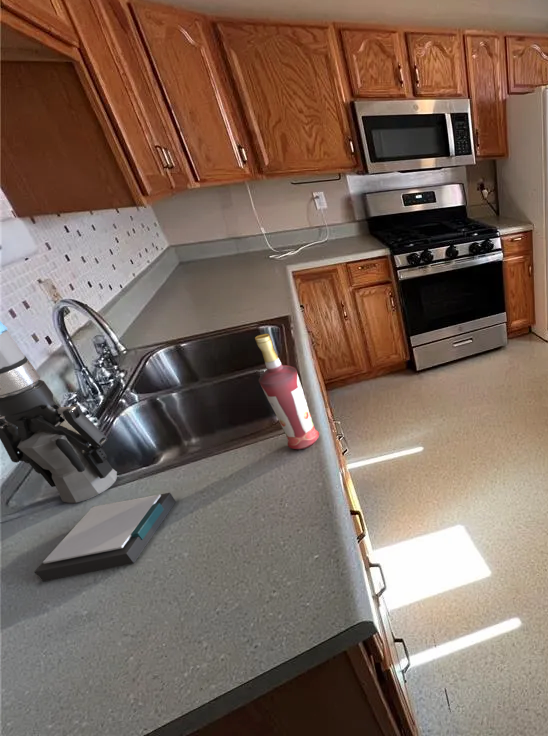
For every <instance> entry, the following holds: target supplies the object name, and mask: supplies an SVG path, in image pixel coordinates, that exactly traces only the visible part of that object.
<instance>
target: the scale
mask: <svg viewBox="0 0 548 736" xmlns="http://www.w3.org/2000/svg"><path fill="white" fill-rule="evenodd" d="M176 502H177V501H176V499H175V498H174V496H173V494H172V493H171V492H165V493H160V494H155V495H149V496H144V497H138V498H133V499H128V500H121V501H115V502H110V503H106V504H105V503H104V504H100V505H96V506H94V505H93V506H92V507H90V509H89V510H88V511H87V512H86V513H85V514H84V516H83V517H82V518H81V519H80V520H79V521H78V522H77V523H76V525H75V526H74V527H72V529H71V530H70V531H69V532H68V533H67V534H66V535H65V537H64V538H62V540H61V541H60V542H59V543H58V544H57V546H55V548H54V549H53V550H52V551H51V552H50V553H49V554H48V555H47V557H45V558H44V560H43V561H42V562H41V564H40V565H39V566H38V567H37V568H36V569H35V570H34V571H33V572H34V574H35V575H36V576H37V577H38V578H39V579H40V580H41V581H42V582H48V581H52V580H58V579H63V578H68V577H72V576H79V575H82V574H88V573H93V572H97V571H102V570H107V569H113V568H118V567H122V566H127V565H133V564H135V563H136V561H137V559H138V558H139V557H140V555H141V554H142V552H143V551H144V550H145V548H146V547H147V545H148V543H150V541H151V539H152V538H153V536H154V535H155V533H156V532H157V530H158V529H159V527H160V526H161V524H162V523H163V522H164V520H165V519H166V517H167V516H168V514H169V513H170V511H171V510H172V509H173V507H174V506H175V504H176Z"/></svg>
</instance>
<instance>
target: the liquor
mask: <svg viewBox="0 0 548 736" xmlns="http://www.w3.org/2000/svg"><path fill="white" fill-rule="evenodd" d="M254 339H255V340H254V341H255V342H256V345H257V347H258V348H259V350H260V351H261V354H262V358H263V359H264V364H265V366H266V370H265V371H264V372H263V373H262V374H261V375H260V376H259V378H258V383H259V385H260V386H261V388H262V390H263V392H264V395H265V397H266V399H267V401H268V403H269V405H270V407H271V408H272V411H273V412H274V413H275V416H276V418H277V420H278V422H279V424H280V427H281V428H282V430H283V432H284V435H285V437H286V439H287V446H288V448H289V449H293V450H306V449H308V448H310V447H312V446H313V445H314V444H315V443H316V441H317V440H318V439H319V437H320V432H319V431H318V430H317V429H316V427H315V425H314V422H313V419H312V415H311V412H310V410H309V407H308V403H307V400H306V396H305V393H304V389H303V386H302V384H301V380H300V377H299V375H298V371H297V368H296V367H295V366H291V365H286V364H282V362H281V360H280V358H279V356H278V354H277V352H276V351H275V348H274V344H273V341H272V340H273V339H272V338H271V336H270V333H262V334H258V335H257V336H255V337H254Z"/></svg>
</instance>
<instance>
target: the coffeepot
mask: <svg viewBox="0 0 548 736" xmlns="http://www.w3.org/2000/svg"><path fill="white" fill-rule="evenodd" d="M59 424H60V422H58V424H56V425H55V426H58V425H59ZM74 430H75V429H74ZM90 445H91V444H89V446H90ZM17 448H19V449H20V450H21V451H22V452H24V453H25V454H26V455H27V456H29V457H30V458H31V459H32V460H33V461H35V462H36V463H37V464H38V465H40V466H41V467H42V468H43V469H47V470H50V472H51V473H52V479H53V481H54V483H55V486H56V487H55V488H56V490H57V493H58V495H59V497H60V499H61V502H64V503H68V504H75V503H81V502H85V501H88V500H90V499H93V498H95V497H96V496H98V495H101V494H102V493H104V492H105V491H107V490H108V489H109V488H111V486H113V485H114V484H115V483H116V481H117V478H118V471H116V470H115V469H114V468H113V469H112V471H111V472H110V473H109V474H108V475H107V476H106V477H105V478H102V479H100V477H99V476H98V475H97V473H96V472H95V470H94V469H93V468H92V466H91V465H90V464H89V462H88V461H87V460H86V458H85V457H84V456H83V455H84V454H85V453H86V452H85V451H84V450H82V449H81V448H79V447H78V446H76V445H74V444H73V443H71V442H70V441H68V440H67V438H66V436H65V435H58V434H57V433H51V432H49V431H48V430H39V431H37V432H36V433H34V434H33V435H32V436H31V437H30V438H29V439H27V440H25V441H22V442H21V441H20V443H19V445H18V447H17Z"/></svg>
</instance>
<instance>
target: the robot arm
mask: <svg viewBox="0 0 548 736" xmlns="http://www.w3.org/2000/svg"><path fill="white" fill-rule="evenodd" d="M40 378H41V376H40V374H39V373H38V371H37V370H36V369H35V367H34V366H33V364H32V363H31V362H30V360H29V359H28V357H27V356H26V355H25V354H24V352H23V351H22V350H21V348H20V347H19V345H18V344H17V342H16V340H15V339H14V338H13V337H12V335H11V334H10V332H9V330H8V327H7V326H6V325H5V324H3V323H2V321H1V320H0V441H1V444H2V445H3V447H4V449H5V451H6V453H7V455H8V457H9V459H10V461H11V462H12V463H14V464H15V463H20V462H24V463H25V464H29V465H30V466H31V468H32V469H33V470H34V471H35V473H36V474H38V475H40V476H41V477H43V479H44V480H45V481H46V482H47V484H48V485H49V486H50V487H51V488H56V486H55V483H54V481H53V479H52V473H51V472H50V470H47V469H43V468H42V467H41V466H40V465H38V464H37V463H36V462H35V461H33V460H32V459H31V458H30V457H29V456H27V455H26V454H25V453H24V452H22V451H21V450H20V449H19V448H17V447H18V445H19V443H20V441H21V442H22V441H25V440H27V439H29V438H30V437H31V436H32V435H33V434H34V433H36V432H37V431H39V430H48V431H49V432H51V433H57V434H58V435H65V436H66V438H67V440H68V441H70V442H71V443H73V444H74V445H76V446H78V447H79V448H81V449H82V450H84V451H85V452H86V453H85V454H84V455H83V456H84V457H85V458H86V460H87V461H88V462H89V464H90V465H91V466H92V468H93V469H94V470H95V472H96V473H97V475H98V476H99V477H100V479H102V478H105V477H106V476H107V475H108V474H109V473H110V472H111V471H112V469H114V468H113V467H112V465H111V464H110V462H109V461H108V455H107V454H106V453H105V451H104V449H103V446H104V445H105V444H107V442H109V438H108V437H107V435H105V433H103V432H102V431H101V430H100V428H98V427H97V426H96V425H95V424H94V422H92V420H90V418H88V417H87V416H86V415H85V414H84V413H83V411H82V408H81V406H80V405H79V404H78V403H72V404H71V405H69V406H61V405H59V404H58V403H56V402H55V401H54V393H53V392H52V390H51V389H50V387H49V386H48V385H47V383H46V382H45V381H44V380H42V379H40ZM58 422H60V424H59V425H58V426H55V425H56V424H58ZM74 429H75V430H74ZM89 444H91V445H90V446H89Z"/></svg>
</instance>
